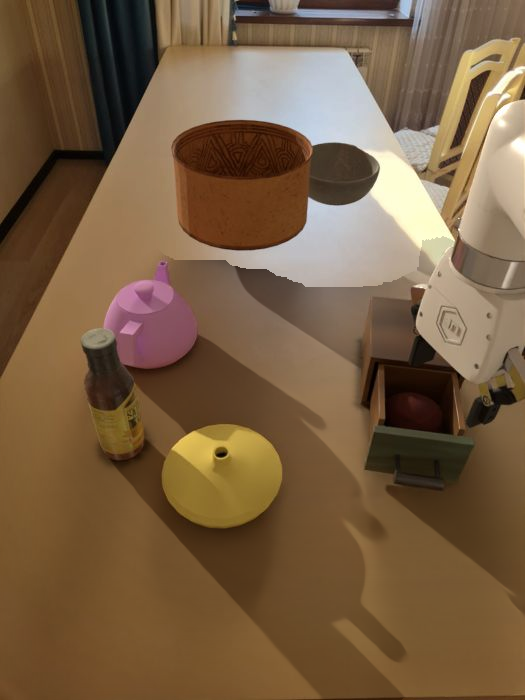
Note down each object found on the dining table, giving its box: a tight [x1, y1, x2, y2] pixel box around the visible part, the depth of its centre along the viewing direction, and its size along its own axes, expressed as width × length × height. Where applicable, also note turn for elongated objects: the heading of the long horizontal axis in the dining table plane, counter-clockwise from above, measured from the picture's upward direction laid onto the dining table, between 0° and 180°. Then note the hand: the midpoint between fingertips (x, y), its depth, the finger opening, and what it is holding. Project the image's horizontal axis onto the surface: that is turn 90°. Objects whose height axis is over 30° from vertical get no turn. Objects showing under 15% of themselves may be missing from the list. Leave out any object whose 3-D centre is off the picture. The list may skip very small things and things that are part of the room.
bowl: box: [308, 141, 381, 207], centre depth 129 cm, size 20×20×10 cm
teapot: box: [103, 260, 199, 370], centre depth 89 cm, size 22×16×12 cm
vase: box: [161, 423, 283, 529], centre depth 70 cm, size 16×16×7 cm
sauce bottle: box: [80, 327, 146, 461], centre depth 70 cm, size 6×6×20 cm
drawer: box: [363, 362, 475, 492], centre depth 74 cm, size 18×12×8 cm
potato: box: [384, 392, 444, 433], centre depth 75 cm, size 7×8×6 cm
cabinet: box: [360, 295, 466, 406], centre depth 85 cm, size 15×14×10 cm
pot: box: [170, 119, 313, 252], centre depth 113 cm, size 28×28×20 cm
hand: (447, 390), depth 59 cm, fingers open, 9 cm apart
